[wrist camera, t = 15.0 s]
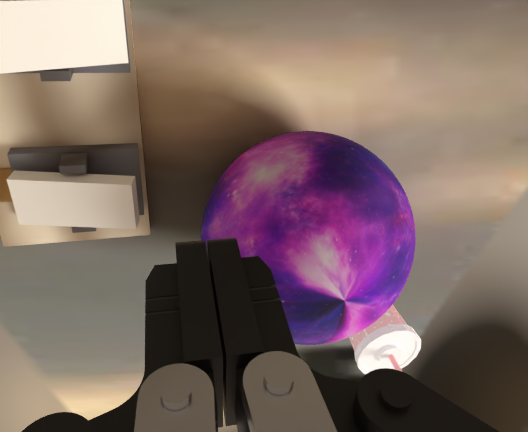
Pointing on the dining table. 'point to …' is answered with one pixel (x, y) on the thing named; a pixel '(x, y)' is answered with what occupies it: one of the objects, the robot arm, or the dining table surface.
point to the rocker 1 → (61, 34)
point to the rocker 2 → (74, 199)
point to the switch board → (71, 137)
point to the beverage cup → (385, 343)
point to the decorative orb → (318, 229)
